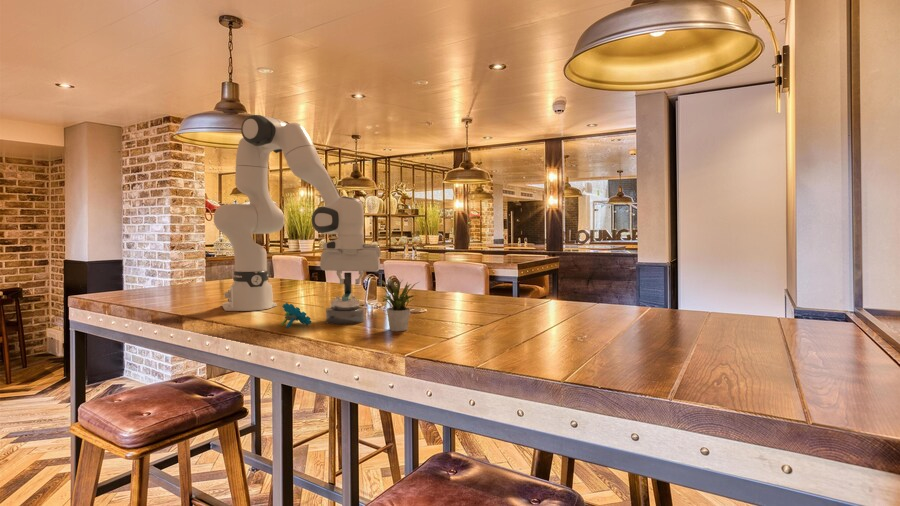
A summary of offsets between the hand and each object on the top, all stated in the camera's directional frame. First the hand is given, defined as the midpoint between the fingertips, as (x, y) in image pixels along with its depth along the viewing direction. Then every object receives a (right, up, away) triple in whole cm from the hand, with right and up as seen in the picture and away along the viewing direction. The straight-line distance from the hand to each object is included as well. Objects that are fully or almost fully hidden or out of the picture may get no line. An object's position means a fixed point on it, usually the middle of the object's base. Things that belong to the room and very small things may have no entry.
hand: (350, 284), depth 168 cm
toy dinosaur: (-13, -12, -18) cm, 25 cm away
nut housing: (0, -12, -9) cm, 15 cm away
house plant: (+18, -12, -22) cm, 31 cm away
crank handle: (0, -7, -6) cm, 9 cm away
